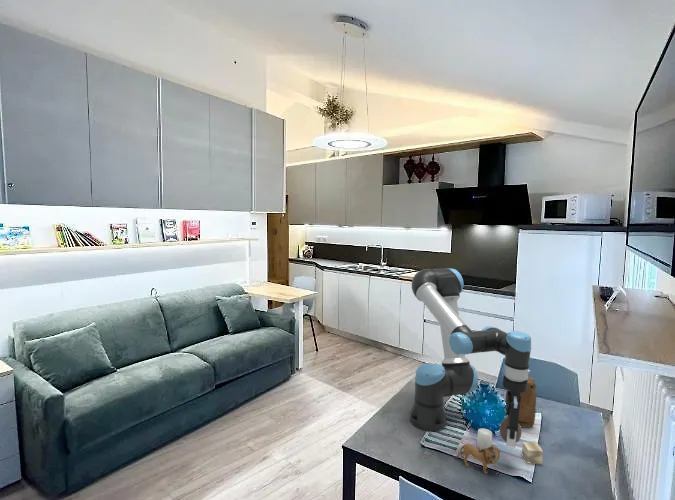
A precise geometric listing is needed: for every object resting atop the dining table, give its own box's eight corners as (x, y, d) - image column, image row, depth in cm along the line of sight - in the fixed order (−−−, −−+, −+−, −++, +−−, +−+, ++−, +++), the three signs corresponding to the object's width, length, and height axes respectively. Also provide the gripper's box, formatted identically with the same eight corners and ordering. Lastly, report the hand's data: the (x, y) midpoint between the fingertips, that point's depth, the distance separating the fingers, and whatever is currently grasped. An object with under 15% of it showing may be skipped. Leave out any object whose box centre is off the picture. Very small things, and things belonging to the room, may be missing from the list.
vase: (521, 448, 128) (524, 424, 127) (499, 443, 130) (501, 420, 129) (519, 437, 134) (521, 413, 133) (498, 432, 136) (500, 409, 135)
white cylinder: (476, 449, 140) (477, 434, 140) (476, 441, 145) (477, 427, 144) (491, 452, 139) (492, 437, 138) (490, 444, 143) (492, 430, 143)
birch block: (527, 463, 133) (528, 450, 133) (521, 454, 138) (522, 441, 138) (542, 464, 133) (543, 451, 132) (535, 455, 138) (537, 442, 137)
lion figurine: (499, 468, 130) (501, 444, 129) (498, 478, 125) (500, 452, 125) (455, 455, 137) (456, 431, 136) (452, 464, 132) (454, 439, 131)
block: (528, 419, 162) (532, 375, 160) (535, 429, 154) (539, 382, 152) (502, 417, 163) (505, 373, 161) (508, 427, 156) (511, 380, 153)
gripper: (531, 392, 119) (525, 460, 122) (524, 367, 137) (518, 427, 140) (505, 387, 121) (499, 454, 124) (501, 364, 140) (496, 422, 143)
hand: (509, 439), depth 132 cm, fingers closed on vase, 7 cm apart
